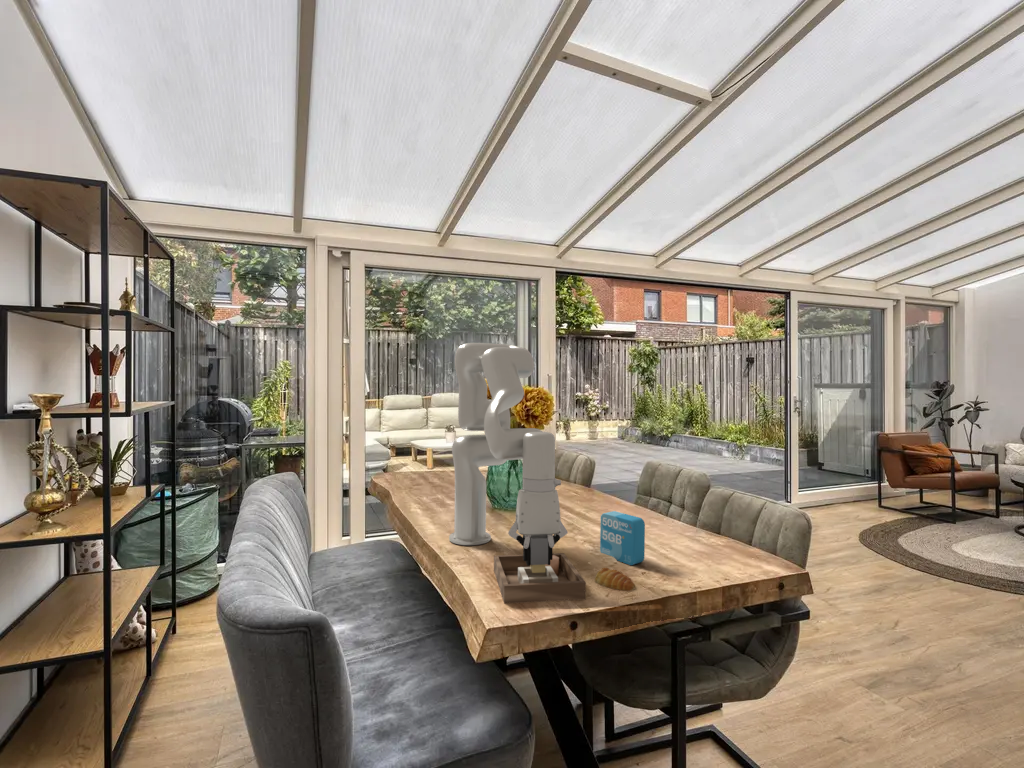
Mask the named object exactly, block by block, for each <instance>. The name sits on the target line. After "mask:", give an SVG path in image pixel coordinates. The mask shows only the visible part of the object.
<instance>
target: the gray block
mask: <svg viewBox="0 0 1024 768" xmlns="http://www.w3.org/2000/svg"><path fill="white" fill-rule="evenodd" d="M529 545H530V549H531V556H530V564H531V565H530V569H531V571H532V573H541V572H545V564H548V537H547V536H546V535H531V537H530V542H529Z"/></svg>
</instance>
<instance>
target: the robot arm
mask: <svg viewBox="0 0 1024 768" xmlns="http://www.w3.org/2000/svg"><path fill="white" fill-rule="evenodd" d="M534 367H535V361H534V357H533V355H532V354H531V352H530V351H529V350H528V349H526V348H525V347H521V346H517V345H513V344H510V343H509V344H507V343H492V342H491V343H490V342H489V343H488V342H468V343H463V344H461V345H459V346H458V348H457V349H456V352H455V355H454V369H455V371H456V372H455V373H456V376H457V382H458V411H457V415H458V416H457V417H458V418H457V419H458V420H457V421H458V425H459V428H461V430H464V431H468V432H483V431H484V434H472V435H471V434H468V435H463V436H459V437H457V438H456V439H454V441H453V443H452V445H451V455H452V460H453V466H454V467H453V468H454V531H453V532H452V533H450V534H449V535H448V536H449V537H448V539H449V542H451V543H452V544H455V545H458V546H459V545H460V546H478V545H484V544H487V543H489V542H490V541H491V539H492V536H491V534H490V533H489V532H487V480H486V478H485V476H484V474H483V473H482V471H481V470H480V469H479V468H482V467H491V466H501V465H503V464H505V463H506V462H507V461H514V460H522V489H521V488H520V489H518V493H517V498H516V499H517V500H516V506H515V507H516V508H515V509H516V510H515V521H514V522H513V524H512V525H511V527H510V528H509V530H508V532H507V533H508V535H509V537H511V538H512V539H514V540H516V541H517V542H518V544H519V545H521V546H522V555H523V560H524V561H526V564H527V566H530V565H531V564H530V556H531V549H530V545H529V542H530V537H531V535H546V536H547V537H548V565H550V560H552V558H553V553H554V552H553V551H554V549H553V548H554V547H555V545H556V544H557V543H558V542H559V541H560V539H562V538H563V537H565V536H567V535H568V530H567V529H566V527H565V525H564V523H563V522H562V521H561V509H560V501H559V499H560V498H559V494H558V493H559V492H558V491H557V489H556V488H557V487H558V486H561V485H562V481H561V479H557V478H556V437H555V435H554V434H553V433H552V432H549V431H543V430H541V429H539V428H534V427H527V428H526V427H525V428H523V427H520V428H519V427H518V428H516V427H515V428H511V413H510V412H511V411H510V409H511V408H513V407H515V406H516V405H518V404H519V403H520V402H521V401H522V400H523V399H524V396H525V390H524V388H523V384H522V382H521V379H527V378H529V377H530V376H531V375H532V374H533V372H534V369H535V368H534ZM482 373H484V375H483V374H482ZM484 376H485V377H484ZM488 390H489V392H490V396H491V398H492V399H488ZM517 532H518V533H517Z"/></svg>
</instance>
